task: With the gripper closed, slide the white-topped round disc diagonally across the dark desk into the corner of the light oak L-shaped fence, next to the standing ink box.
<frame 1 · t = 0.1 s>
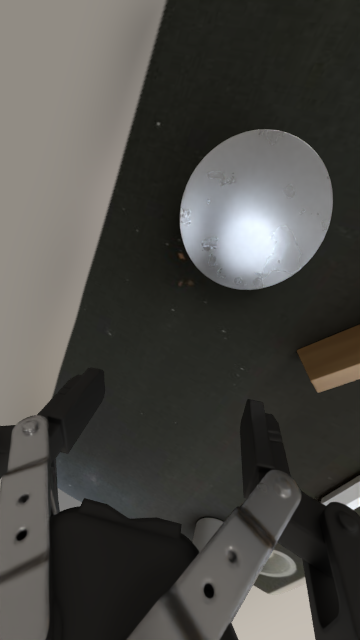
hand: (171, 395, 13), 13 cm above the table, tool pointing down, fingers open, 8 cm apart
white pencil: (353, 481, 32), on the table
white-topped round disc: (248, 218, 21), on the table
cup: (217, 522, 41), on the table
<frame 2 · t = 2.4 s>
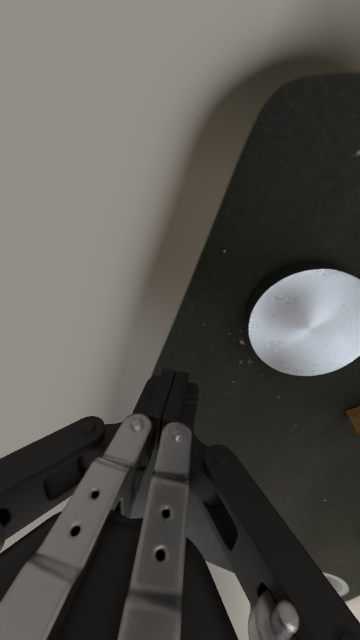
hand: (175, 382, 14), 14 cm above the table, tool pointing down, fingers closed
white-topped round disc: (301, 314, 25), on the table
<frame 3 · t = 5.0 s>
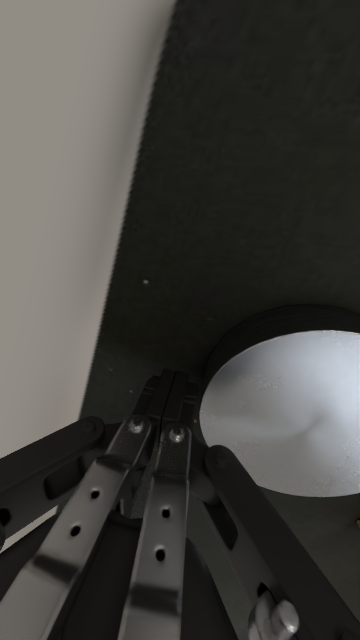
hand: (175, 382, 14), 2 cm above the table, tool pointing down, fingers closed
white-topped round disc: (294, 388, 15), on the table, touching gripper
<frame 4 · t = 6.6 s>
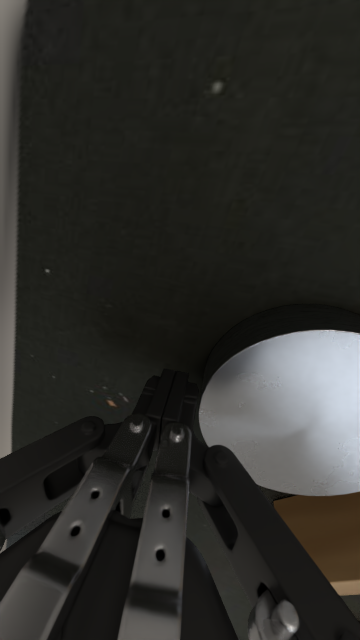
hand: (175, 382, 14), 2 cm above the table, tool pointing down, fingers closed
white-topped round disc: (293, 387, 15), on the table, touching gripper
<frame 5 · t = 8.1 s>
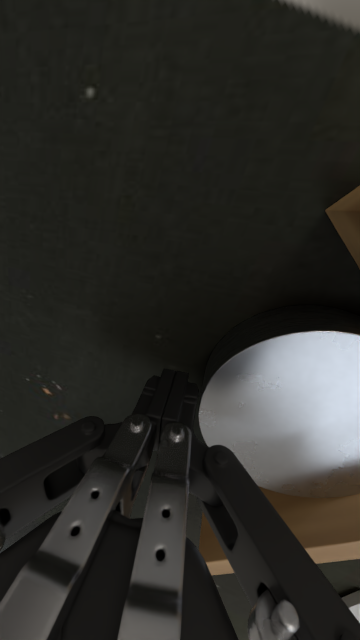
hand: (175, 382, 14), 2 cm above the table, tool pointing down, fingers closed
white pencil: (313, 611, 26), on the table
white-topped round disc: (294, 388, 15), on the table, touching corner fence, gripper
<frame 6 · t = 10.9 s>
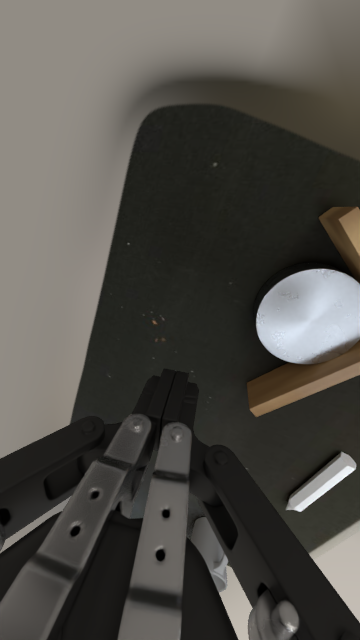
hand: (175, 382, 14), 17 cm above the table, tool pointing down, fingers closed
white pencil: (311, 480, 39), on the table
white-topped round disc: (302, 310, 28), on the table, touching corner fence
cup: (212, 521, 49), on the table
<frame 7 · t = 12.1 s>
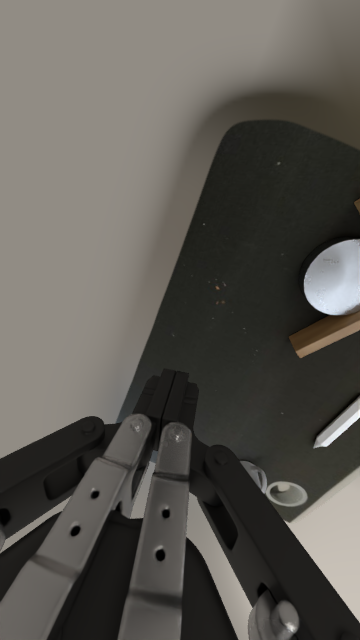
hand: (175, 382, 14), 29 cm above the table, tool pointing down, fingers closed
white pencil: (335, 420, 48), on the table
white-topped round disc: (337, 274, 37), on the table, touching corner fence
cup: (247, 465, 58), on the table
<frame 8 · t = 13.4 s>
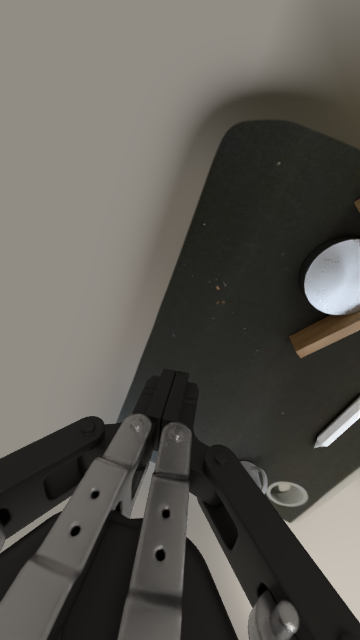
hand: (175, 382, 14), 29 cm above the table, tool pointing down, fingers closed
white pencil: (336, 420, 48), on the table
white-topped round disc: (337, 274, 37), on the table, touching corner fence
cup: (248, 465, 58), on the table
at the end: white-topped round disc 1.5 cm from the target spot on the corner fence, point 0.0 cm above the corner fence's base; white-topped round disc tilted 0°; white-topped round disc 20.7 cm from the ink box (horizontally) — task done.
